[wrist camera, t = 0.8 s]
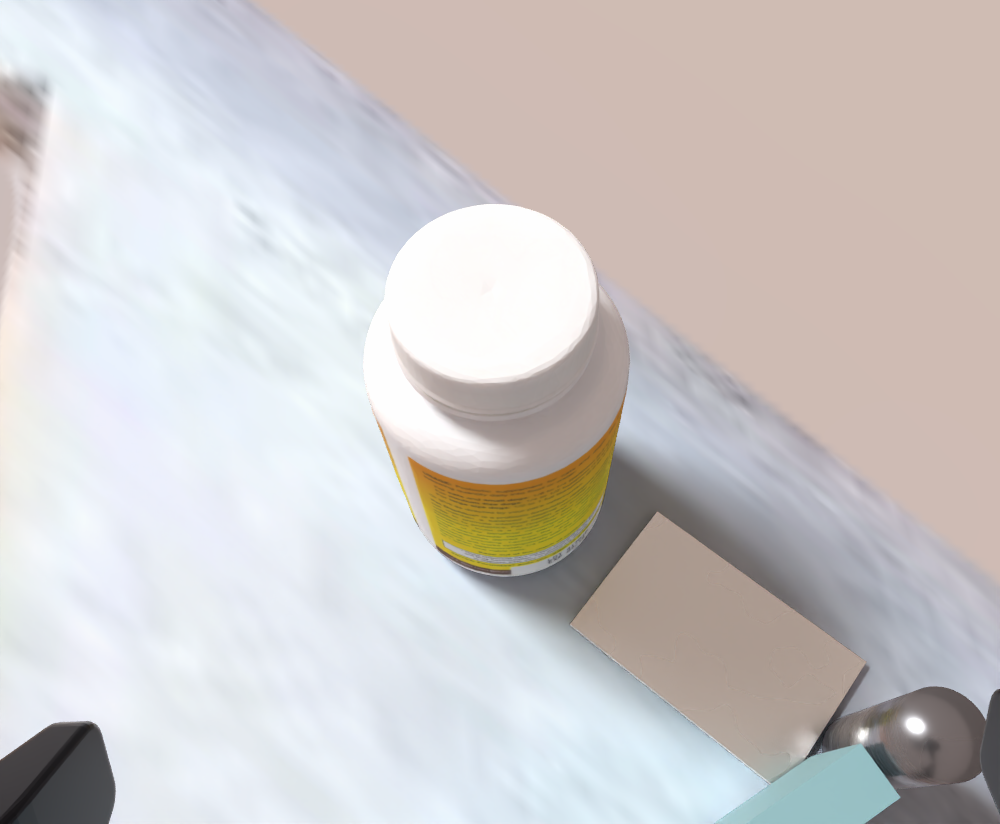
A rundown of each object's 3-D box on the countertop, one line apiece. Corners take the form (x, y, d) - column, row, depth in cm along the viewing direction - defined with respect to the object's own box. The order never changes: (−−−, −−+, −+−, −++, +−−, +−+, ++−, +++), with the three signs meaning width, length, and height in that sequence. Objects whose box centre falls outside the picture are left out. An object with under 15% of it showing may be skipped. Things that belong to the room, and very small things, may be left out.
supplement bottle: (643, 508, 25) (710, 319, 16) (480, 623, 24) (447, 490, 14) (528, 366, 27) (527, 124, 18) (372, 464, 26) (284, 260, 16)
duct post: (930, 711, 22) (1032, 682, 18) (850, 848, 21) (937, 853, 17) (656, 513, 25) (684, 443, 20) (569, 625, 24) (578, 577, 19)
